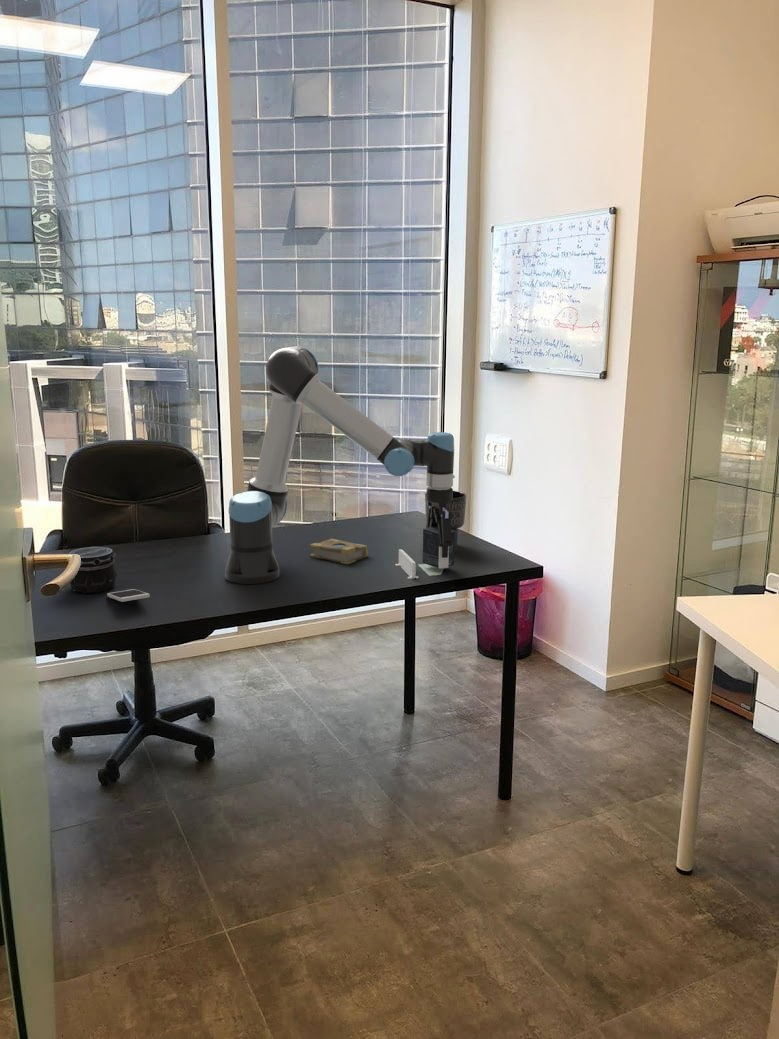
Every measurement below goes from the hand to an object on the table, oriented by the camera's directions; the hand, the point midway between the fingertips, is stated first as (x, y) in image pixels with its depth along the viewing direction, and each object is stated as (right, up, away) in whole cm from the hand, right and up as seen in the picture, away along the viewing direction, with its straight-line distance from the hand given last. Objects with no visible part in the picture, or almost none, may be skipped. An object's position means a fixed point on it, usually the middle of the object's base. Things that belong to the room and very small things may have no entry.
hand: (438, 562), depth 251 cm
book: (-29, +1, +14) cm, 32 cm away
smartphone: (-77, -9, -35) cm, 85 cm away
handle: (-9, -3, -2) cm, 10 cm away
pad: (0, -2, +1) cm, 2 cm away
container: (-95, -6, -16) cm, 96 cm away
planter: (+3, +3, +23) cm, 23 cm away
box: (0, -1, 0) cm, 1 cm away
